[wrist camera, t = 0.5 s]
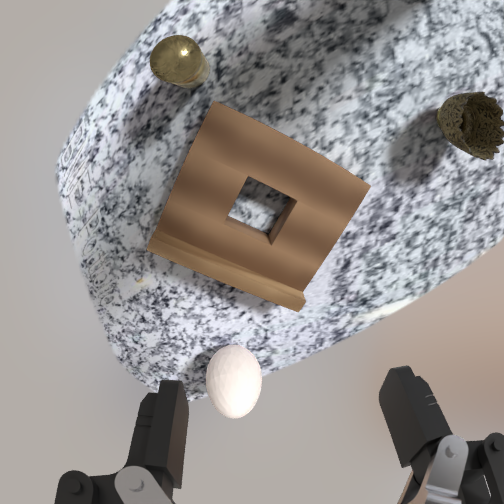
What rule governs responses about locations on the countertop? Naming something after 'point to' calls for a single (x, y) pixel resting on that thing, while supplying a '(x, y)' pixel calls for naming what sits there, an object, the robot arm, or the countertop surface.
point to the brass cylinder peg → (179, 62)
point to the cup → (472, 123)
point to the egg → (233, 381)
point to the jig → (240, 234)
